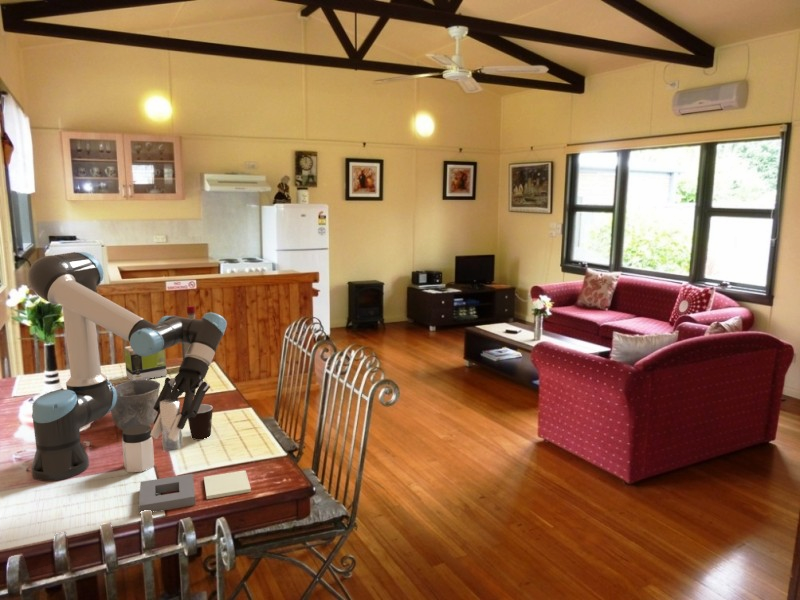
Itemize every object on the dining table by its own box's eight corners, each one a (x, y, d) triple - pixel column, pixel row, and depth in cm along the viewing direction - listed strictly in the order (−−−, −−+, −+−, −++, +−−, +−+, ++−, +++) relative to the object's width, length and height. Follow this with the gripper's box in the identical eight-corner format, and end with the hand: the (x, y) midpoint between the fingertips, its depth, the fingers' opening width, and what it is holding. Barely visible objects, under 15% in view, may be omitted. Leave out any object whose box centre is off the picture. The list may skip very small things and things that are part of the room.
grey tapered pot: (108, 422, 217) (105, 383, 214) (160, 414, 225) (157, 377, 222) (110, 440, 201) (106, 398, 199) (165, 431, 209) (162, 391, 207)
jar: (158, 460, 187) (155, 424, 185) (150, 472, 179) (147, 434, 177) (128, 461, 186) (126, 425, 184) (119, 473, 178) (116, 435, 176)
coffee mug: (206, 442, 201) (204, 414, 199) (183, 439, 203) (181, 412, 201) (222, 429, 212) (221, 402, 210) (200, 426, 214) (199, 400, 212)
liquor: (206, 368, 284) (202, 307, 278) (186, 371, 279) (182, 309, 274) (201, 363, 291) (198, 304, 286) (182, 366, 287) (179, 305, 282)
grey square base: (139, 514, 156) (138, 505, 155) (141, 489, 168) (140, 481, 168) (195, 504, 161) (195, 496, 160) (193, 481, 173) (192, 473, 173)
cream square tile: (206, 499, 164) (206, 496, 163) (203, 479, 175) (203, 476, 174) (251, 491, 168) (250, 488, 168) (245, 473, 179) (245, 470, 179)
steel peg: (162, 451, 159) (159, 406, 157) (162, 444, 164) (159, 399, 162) (182, 449, 161) (179, 403, 159) (182, 441, 166) (179, 397, 163)
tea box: (159, 371, 279) (157, 340, 276) (167, 376, 271) (165, 345, 269) (125, 377, 269) (123, 345, 267) (132, 382, 262) (130, 350, 259)
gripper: (229, 371, 171) (198, 447, 159) (176, 365, 176) (142, 439, 164) (218, 358, 165) (184, 436, 153) (163, 353, 170) (126, 428, 158)
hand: (162, 438), depth 158 cm, fingers closed on steel peg, 5 cm apart
